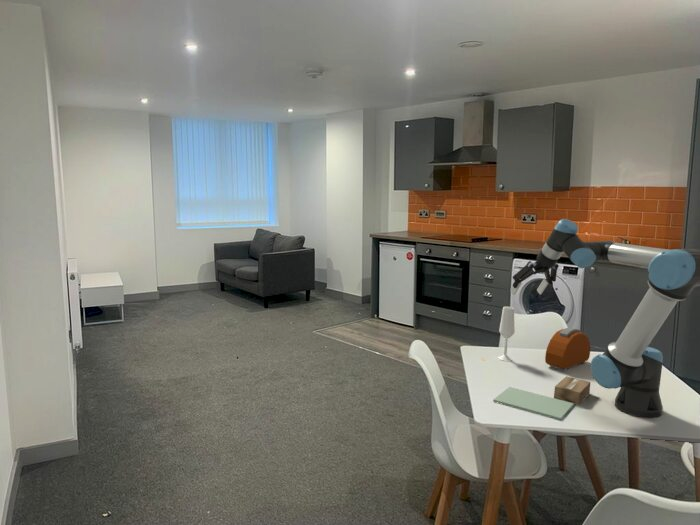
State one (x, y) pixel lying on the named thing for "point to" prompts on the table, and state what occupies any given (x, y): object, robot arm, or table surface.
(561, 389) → the cardboard box
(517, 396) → the rubber mat
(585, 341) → the orange toaster
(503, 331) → the champagne flute
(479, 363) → the table surface
